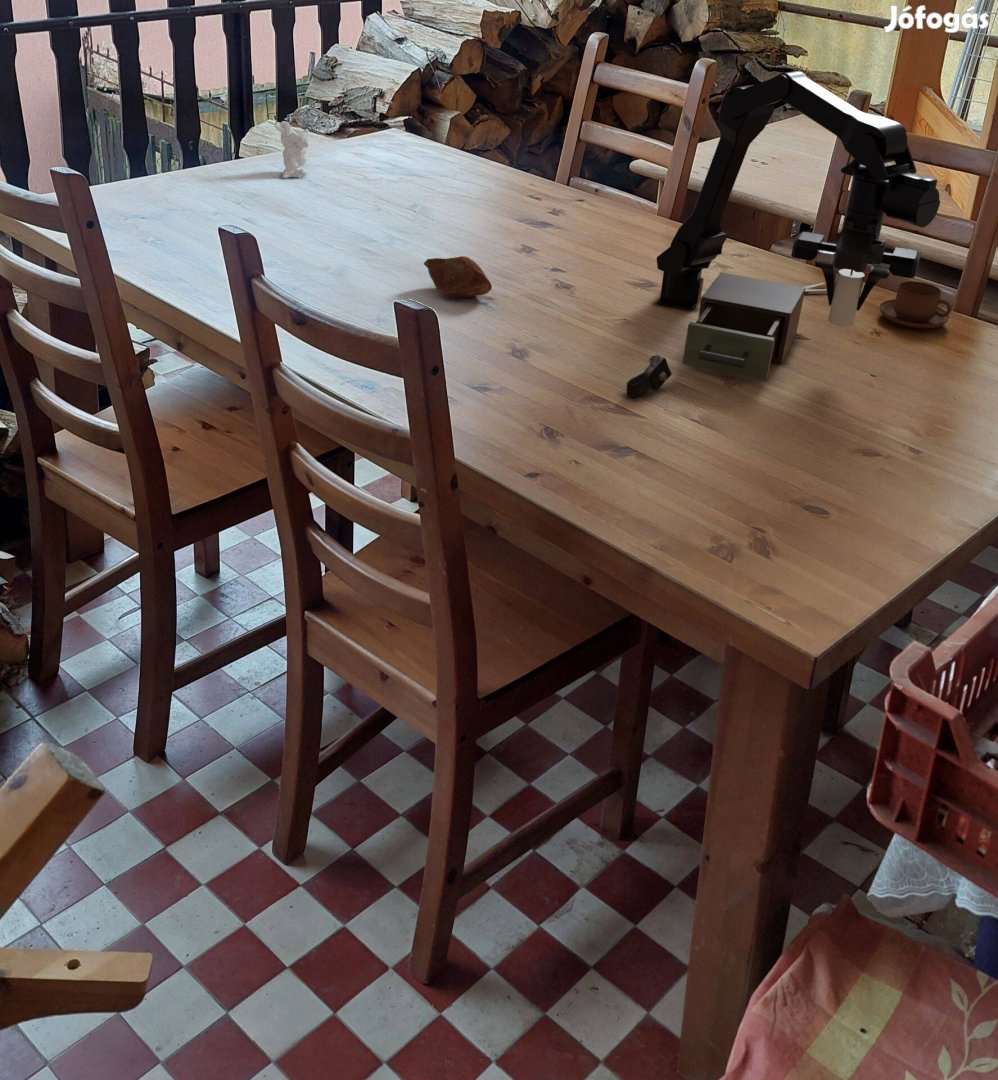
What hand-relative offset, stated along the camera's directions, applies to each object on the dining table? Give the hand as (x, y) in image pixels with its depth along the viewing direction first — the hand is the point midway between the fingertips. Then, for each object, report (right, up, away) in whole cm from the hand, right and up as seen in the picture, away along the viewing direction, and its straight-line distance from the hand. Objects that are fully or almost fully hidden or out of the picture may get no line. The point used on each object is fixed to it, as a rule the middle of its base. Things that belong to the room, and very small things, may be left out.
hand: (844, 307), depth 187 cm
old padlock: (-32, -14, -6) cm, 35 cm away
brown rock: (-62, +7, +24) cm, 67 cm away
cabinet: (-13, -3, +13) cm, 18 cm away
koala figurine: (-102, +46, +84) cm, 140 cm away
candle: (0, -2, +1) cm, 2 cm away
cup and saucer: (+19, +2, +25) cm, 32 cm away
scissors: (0, +9, +34) cm, 35 cm away
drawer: (-18, -9, +2) cm, 20 cm away
